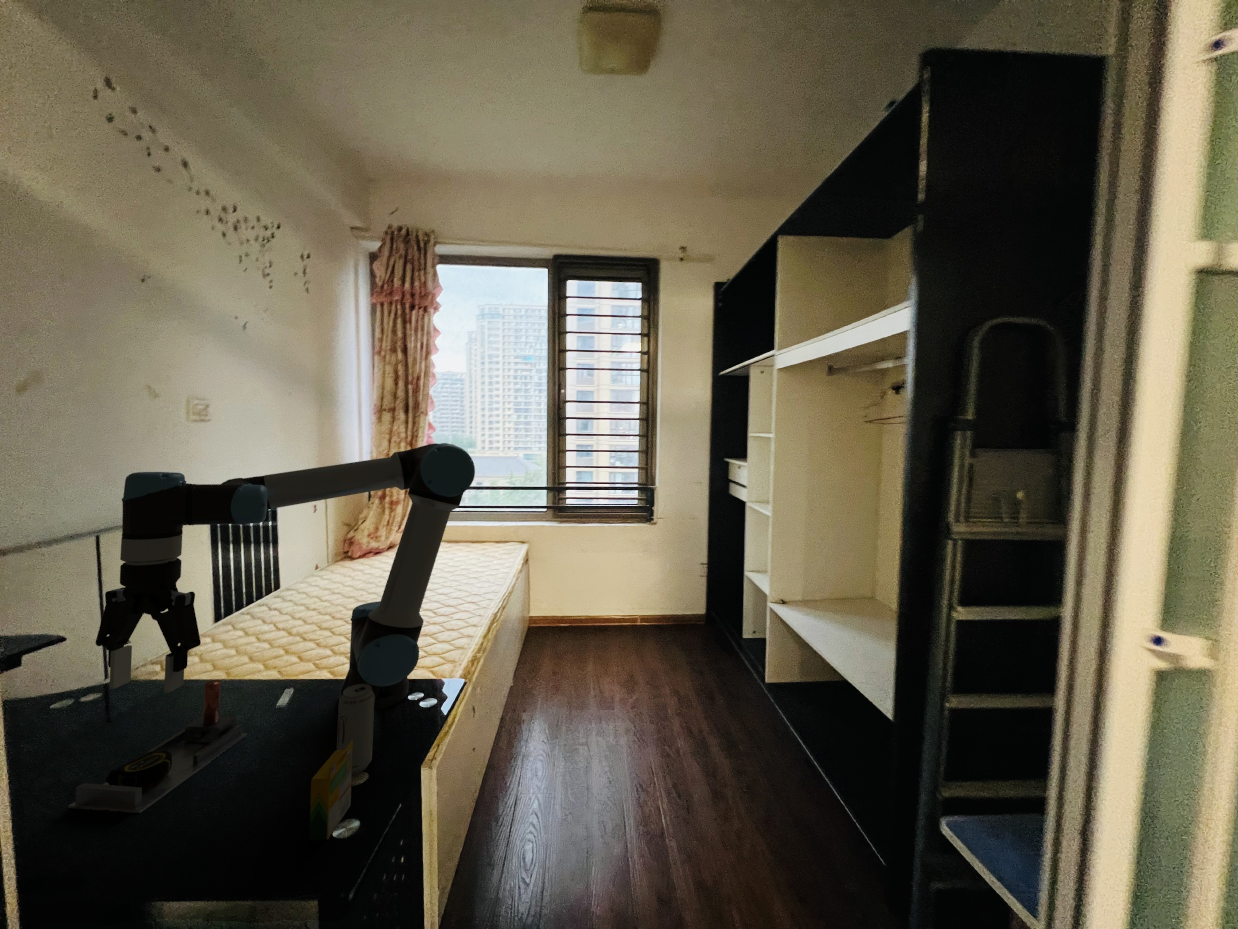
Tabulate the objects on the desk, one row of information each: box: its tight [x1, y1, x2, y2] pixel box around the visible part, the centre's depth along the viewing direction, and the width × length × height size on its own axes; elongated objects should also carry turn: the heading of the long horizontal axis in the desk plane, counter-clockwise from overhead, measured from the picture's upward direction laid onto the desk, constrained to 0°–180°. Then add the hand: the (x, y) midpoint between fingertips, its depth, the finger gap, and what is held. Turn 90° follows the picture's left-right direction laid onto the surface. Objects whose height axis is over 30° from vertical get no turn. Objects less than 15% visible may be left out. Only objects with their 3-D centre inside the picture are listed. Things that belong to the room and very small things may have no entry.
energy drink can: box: [336, 684, 375, 776], centre depth 88 cm, size 6×6×15 cm
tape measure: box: [105, 751, 172, 787], centre depth 81 cm, size 7×7×4 cm
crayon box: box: [308, 740, 353, 841], centre depth 75 cm, size 7×3×12 cm, turn 4°
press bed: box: [68, 724, 248, 814], centre depth 85 cm, size 12×21×3 cm, turn 179°
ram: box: [184, 679, 237, 743], centre depth 93 cm, size 7×5×11 cm
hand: (147, 686), depth 81 cm, fingers open, 9 cm apart
